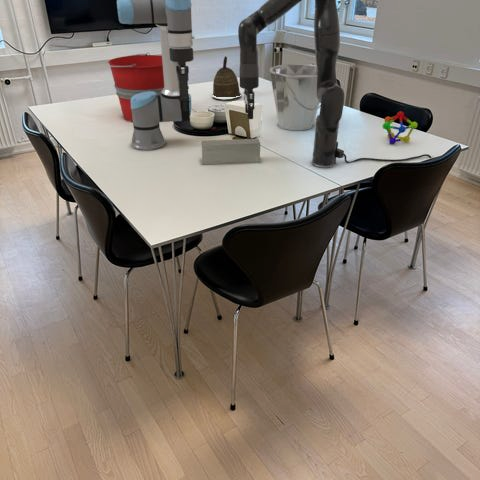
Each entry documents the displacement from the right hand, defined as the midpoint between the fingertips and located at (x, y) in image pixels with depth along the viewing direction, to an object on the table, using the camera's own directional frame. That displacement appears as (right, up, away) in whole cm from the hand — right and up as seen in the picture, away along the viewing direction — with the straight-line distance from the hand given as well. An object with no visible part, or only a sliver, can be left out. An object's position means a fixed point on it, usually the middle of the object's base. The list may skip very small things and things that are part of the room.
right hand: (249, 115), depth 181 cm
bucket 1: (-56, +18, +65) cm, 88 cm away
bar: (-8, -17, +9) cm, 21 cm away
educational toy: (+70, -5, +29) cm, 76 cm away
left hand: (-23, -8, -30) cm, 39 cm away
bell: (-12, +40, +100) cm, 108 cm away
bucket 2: (+25, +10, +52) cm, 59 cm away
